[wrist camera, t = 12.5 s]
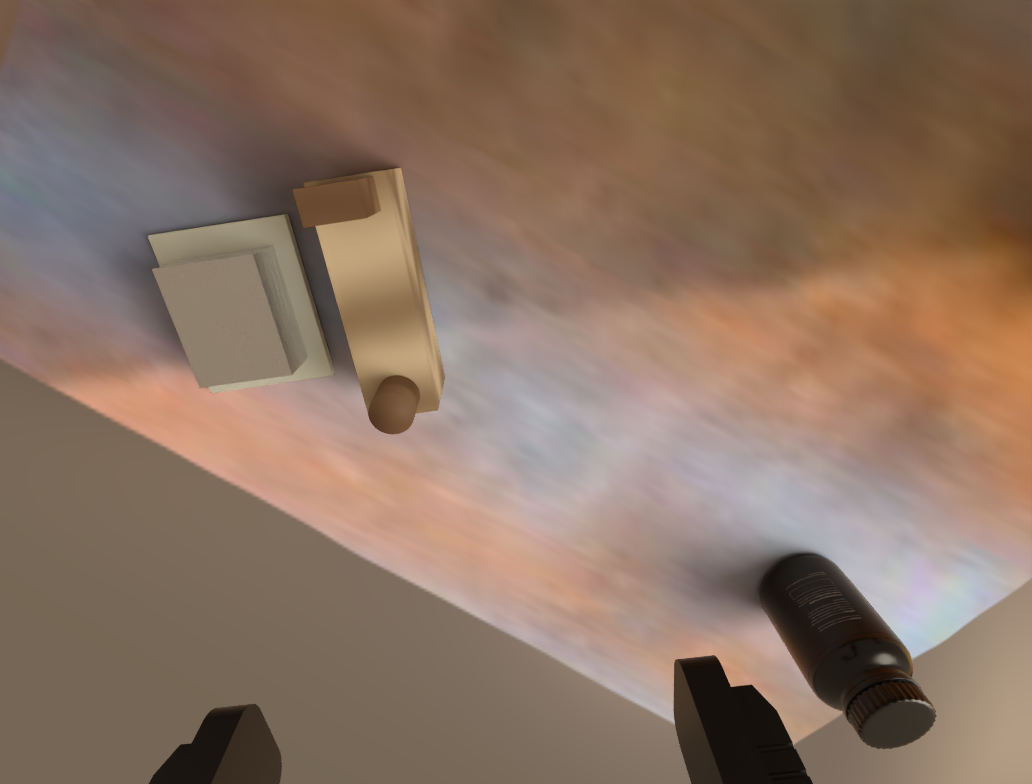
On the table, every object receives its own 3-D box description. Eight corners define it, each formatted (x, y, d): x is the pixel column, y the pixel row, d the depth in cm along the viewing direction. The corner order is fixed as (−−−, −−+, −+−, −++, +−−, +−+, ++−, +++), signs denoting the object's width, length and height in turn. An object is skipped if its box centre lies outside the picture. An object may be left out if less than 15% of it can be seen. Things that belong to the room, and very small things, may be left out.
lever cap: (181, 259, 32) (151, 268, 29) (273, 245, 32) (252, 254, 29) (223, 369, 35) (199, 388, 32) (308, 357, 34) (292, 375, 32)
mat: (153, 234, 32) (147, 235, 31) (287, 213, 32) (284, 214, 31) (215, 389, 36) (211, 393, 35) (335, 372, 36) (332, 375, 35)
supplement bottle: (745, 612, 46) (825, 757, 35) (772, 547, 43) (868, 682, 32) (821, 618, 46) (924, 763, 35) (853, 555, 44) (974, 690, 33)
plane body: (331, 178, 31) (276, 186, 23) (400, 167, 31) (369, 172, 23) (385, 386, 36) (356, 450, 28) (444, 377, 36) (431, 439, 28)
